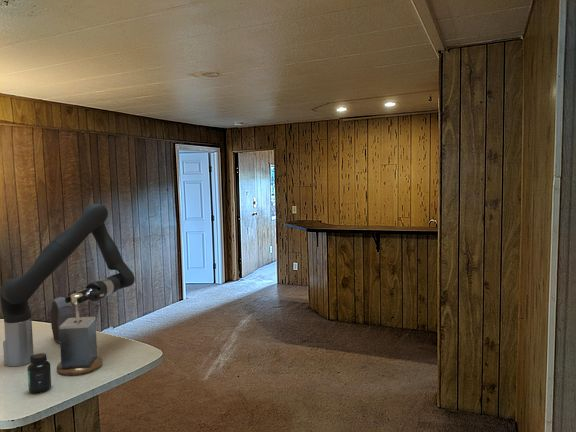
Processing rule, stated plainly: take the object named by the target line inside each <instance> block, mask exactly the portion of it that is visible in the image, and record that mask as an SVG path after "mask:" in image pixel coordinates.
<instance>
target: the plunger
mask: <svg viewBox="0 0 576 432" xmlns="http://www.w3.org/2000/svg"><path fill="white" fill-rule="evenodd" d="M81 296H83V294H82V293H76V294H72V295H70V301H71V302H70V303H71V304H72V305H75V318H76V322H80V304H78V303H77V298H78V297H81ZM82 303H84V302H82ZM82 303H81V304H82Z"/></svg>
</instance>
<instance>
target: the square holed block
mask: <svg viewBox="0 0 576 432" xmlns="http://www.w3.org/2000/svg"><path fill="white" fill-rule="evenodd" d="M79 317H80V316H79ZM96 324H97V323H96V316H82V317H80V322H76V317H75V318H68V319H67V320H66V321H65V322H64V323H63V324H61V325H60V326H59V330H60V342H59V349H60V362H59V363H58V364H57V366H56V373H57V374H58V375H60V376H63V377H77V376H83V375H84V376H85V375H88V374H90V373H93V372H96V371H97V370H99V369H100V368H101V367H102V366H103V363H104V361H103V360H104V359H103V358H102V356H100V355H98V343H97V340H98V339H97V325H96Z"/></svg>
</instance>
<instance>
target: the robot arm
mask: <svg viewBox="0 0 576 432" xmlns="http://www.w3.org/2000/svg"><path fill="white" fill-rule="evenodd" d="M108 215H109V211H108V209H107V207H106V206H105V205H104V204H101V203H92V204H89V205H87V206H85V207H84V209H82V213H81V216H80V217H79V218H78V219H77V221H76V222H75V223H73V224H72V225H71V226H70V227H68V228H67V229H66V230H64V231H62V232H61V233H59V234H58V235H57V236H56V237H55V238H54V239H52V240H51V241H50V242H49V243H48V244H47V245H46V246H45V247H44V248H43V249H42V250H41V252H40V253H39V255H38V256H37V258H36V260H35V261H34V263H33V264H32V266H30V268H29V269H28V270H26V272H24V274H22V275H21V276H20V277H19V278H18V277H17V278H16V277H14V278H9V279H7V280H6V281H5V282H3V283H2V285H1V287H0V304H1V314H2V317H3V324H4V327H3V329H4V339H5V340H3V341H2V347H3V348H2V349H3V361H4V362H3V365H4V366H8V367H20V366H24V365H27V364H31V363H30V357H31V356H32V355H35V353H34V340H33V339H34V338H33V323H32V319H33V318H32V311H31V307H30V305H29V299H31V298H32V296H34V294H35V292H36V291H37V290H38V289H39V287H40V286H41V285H42V284H43V283H44V282H45V281H46V280H47V279H48V278H49V277H50V276H51V275H52V274H53V273H54V272H55V271H56V270H57V269H58V268H59V267H60V266H61V265H63V264H64V262H65V261H67V259H69V257H70V256H72V255H73V253H74V252H75V251H76V250H77V249H78V248H79V247H80V246H81V244H83V241H85V239H86V238H87V237H88V236H89V235H90V234H92V236H93V238H94V239H95V241H96V244H97V246H98V248H99V250H100V252H101V255H102V258H103V260H104V263H105V265H106V266H107V267H106V268H107V269H108V270H110V271H117V273H115V274H113V275H110V276H108V277H105V278H102V279H101V278H100V279H98V280H96V281H93V282H90V283H88V284H87V285H86V287H85V288H82V289H81V290H80V289H79V290H78V291H77V290H76V289H73V290H72V291H69V293H68V294H67V296H65V303H69V302H70V303H71V301H70V295H72V294H76V293H82V294H83V296H81V297H78V298H77V303H78V304H79V305H80V304H82V302H83V303H84V302H85V303H86V302H89V301H90V302H97V301H100V300H101V299H105V298H106V297H108V296H109V295H111V294H113V293H114V294H115V292H117V291H118V290H121V289H125V288H127V287H132V286H133V285H134V283H135V280H136V279H135V275H134V273H133V271H132V270H131V268H129V266H128V265H127V264H126V262H125V261H124V260H123V257H122V254H121V252H120V250H119V248H118V246H117V244H116V243H115V242H114V240H113V238H112V237H111V236H110V233H109V231H108V230H107V227H106V220H107V219H108V217H109V216H108Z"/></svg>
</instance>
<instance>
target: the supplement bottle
mask: <svg viewBox="0 0 576 432" xmlns="http://www.w3.org/2000/svg"><path fill="white" fill-rule="evenodd" d="M51 370H52V369H51V362H49V361H48V358H47V354H46V353H44V352H41V353H40V352H39V353H36V354H35V353H34V355H32V356H31V357H30V363H29V365H28V366H27V384H28V385H27V386H28V392H29V393H30V394H32V395H33V394H34V395H37V394H43V393H45V392H47V391H49V390H50V389H51V388H52V376H51V375H52V371H51Z"/></svg>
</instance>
